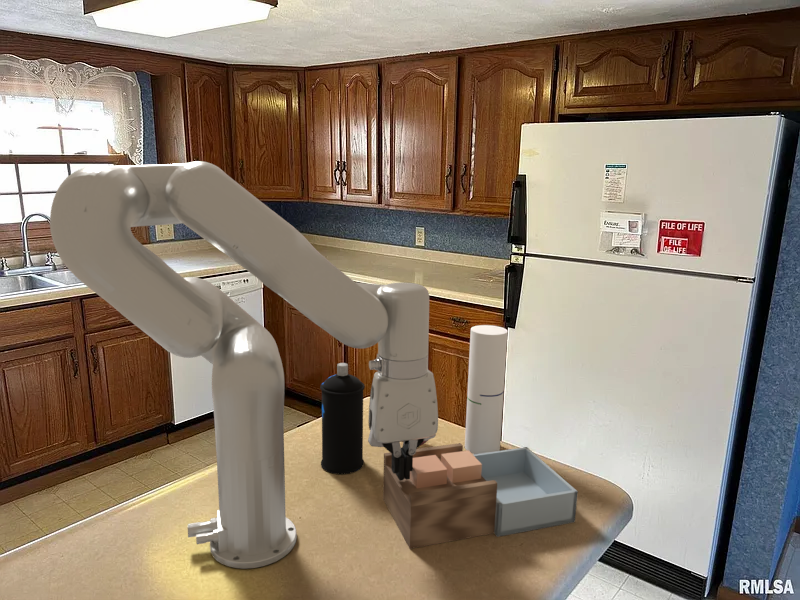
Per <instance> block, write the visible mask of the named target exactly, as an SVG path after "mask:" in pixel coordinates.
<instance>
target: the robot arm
mask: <svg viewBox="0 0 800 600" xmlns="http://www.w3.org/2000/svg"><path fill="white" fill-rule="evenodd" d="M180 224H183V225H185V226H186V227H187V228H188V229H189V230H191V231H193V232H194V233H195V234H197V235H198V236H199V237H201V238H202V239H204V240H205V241H206V242H208V243H209V244H211V245H212V246H213V247H215V248H216V249H218V250H219V251H220V252H222V253H223V254H225V255H226V256H227V257H229V259H232V260H233V262H235V263H237V265H240V266H241V267H242V268H243V269H245V270H246V271H247V272H249V273H250V274H251V275H253V276H254V277H255V278H256V279H257V280H259V281H260V282H261V283H262V284H263V285H264V286H266V287H267V288H269V289H270V290H271V291H272V292H274V293H275V294H277V295H278V296H279V297H281V298H283V300H285V301H286V302H287V303H289V304H290V305H291V306H292V307H293V308H295V309H296V310H297V311H298V312H300V313H301V314H302V315H303V316H305V317H306V318H307V319H308V320H310V321H311V322H312V323H314V324H315V325H317V326H318V327H320V328H321V329H322V330H324V331H325V332H327V333H328V334H329V335H330V336H331V337H333V338H335V339H336V340H337V341H339V342H340V343H342V344H344V345H345V346H347V347H349V348H353V349H367V348H371V347H373V346H375V345H377V349H378V351H377V353H376V358H375V359H373V360H369V361H368V368H369V371H371V370H372V371H373V370H375V371H376V372H375V373H374V374H373V378H372V383H371V388H370V397H369V404H368V429H369V435H368V439H367V441H368V443H369V445H370V447H375V448H385V449H386V450H387V451H388V453H389V452H391V453H392V461H391V467H392V472H393V473H394V474H396V475H397V477H398V479H399V480H400V481H401V480H403V479H404V478H405V479H406V480H407V479H410V471H412V469H413V455H414V454H415V453H416V449H419V448H420V446H422V445H423V444H422V443H423V441H427V440H428V441H429V440H431V439H434V438H436V436H437V433H438V428H439V410H438V399H437V389H436V382H435V377H434V373H433V372H432V371H431V370H429V335H430V334H429V333H430V331H429V329H430V321H429V320H430V293H429V290H428V289H427V287H425V286H424V285H422V284H419V283H415V282H392V283H388V284H377V283H365V282H356V281H354V280H353V279H351V278H350V277H349V276H348V275H347V274H345V273H344V272H343V271H342V270H341V269H339V268H338V267H336V266H335V265H334V264H333V263H332V262H330V260H329V259H327V258H326V257H325V256H324V255H323V254H322V253H320V252H319V251H318V250H317V248H315V247H314V246H313V245H312V244H311V242H310V241H309V240H308V239H307V238H306V237H305V236H304V235H303V234H302V233H301V232H300V231H299V230H298V229H297V228H295V227H294V226H293V225H292V224H290V222H288V221H287V220H285V219H284V218H283V217H282V216H280V215H279V214H278V213H276V212H275V211H274V210H272V209H271V208H270V207H269V206H268V205H267V204H265V203H264V202H262V201H261V200H259V198H257V197H256V196H254V194H252V193H251V192H249V191H248V190H247V189H246V188H245V187H243V186H242V185H241V184H240V183H238V182H237V181H236V180H234V179H233V178H232V177H231V176H230V175H228V174H227V173H226V172H225V171H224V170H222V169H221V168H220V167H219V166H217V165H215V164H213V163H210V162H207V161H202V160H200V161H199V160H197V161H190V162H185V163H184V162H182V163H172V164H171V163H170V164H169V163H167V164H141V165H139V164H138V165H137V164H136V165H131V164H129V165H91V166H86V167H83V168H80V169H78V170H75V171H74V172H73V173H71V174H70V175H68V176H67V177H66V178H65V179H64V180H63V181H62V183H61V184H60V185H59V187H58V189H56V192H55V194H54V197H53V201H52V204H51V208H50V218H49V227H50V234H51V235H50V236H51V239H52V243H53V245H54V248H55V250H56V252H57V254H58V256H59V258H60V260H61V261H62V263H63V264H64V265H65V266H66V268H67V269H68V270H69V271H70V272H71V273H72V274H73V275H74V276H75V277H76V278H77V279H78V280H79V281H80V282H82V284H84V285H85V286H86V287H87V288H89V289H90V290H91V291H92V292H93V293H94V294H96V295H98V296H99V297H100V298H101V299H102V300H104V301H105V302H106V303H108V304H109V305H110V306H111V307H113V308H114V309H115V310H116V311H117V312H118V313H120V314H121V315H122V316H123V317H124V318H126V319H127V320H128V321H129V322H130V323H132V324H133V325H134V326H135V327H137V328H138V329H140V330H141V331H142V332H143V333H145V334H146V335H147V336H149V338H151V339H152V340H153V341H154V342H155V343H157V344H158V345H159V346H161V347H162V348H163V349H164V350H165V351H167V352H168V353H170V354H172V355H174V356H176V357H180V358H188V359H192V358H197V357H200V356H202V357H203V358H204V359H205V360H206V361H207V362H209V363H210V364H211V365H212V370H211V395H212V398H211V399H212V407H213V417H214V419H213V420H214V436H215V438H214V439H215V451H216V466H217V467H216V469H217V473H216V474H217V490H218V491H217V492H218V508H219V509H217V510H216V516H217V517H211V518H210V520H208V521H198V522H197V521H196V522H192V523H187V537H188V538H189V539H190V538H196V539H195V540H196V545H200V544H201V545H202V544H206V543H209V549H210V553H211V555H212V557H213V558H214V560H215V561H216V562H219V563H220V564H221V565H225V566H226V567H230V568H234V569H254V568H255V569H256V568H260V567H261V568H262V567H264V566H265V567H266V566H269V565H271V564H273V563H276V562H277V561H279V560H281V559H283V558H284V557H285V556H286V555H288V554H289V553H290V552H291V551H292V550H293V548H294V547H295V545H296V543H297V538H298V537H297V529H296V525H295V524H294V523H293V521H292V520H291V519H289V518H288V517H287V516H286V513H287V512H286V483H285V482H286V480H285V479H286V477H285V474H286V473H285V469H286V468H285V437H284V436H285V433H284V432H285V431H284V429H285V428H284V427H285V426H284V424H285V423H284V414H285V413H284V410H285V407H284V406H285V372H284V367H283V363H282V362H283V361H282V358H281V356H280V352H279V348H278V345H277V343H276V340H275V338H274V337H273V335H272V334H271V333H270V331H268V329H266V327H264V326H263V325H262V324H261V323H260V322H259V321H258V320H256V319H255V317H253V316H251V314H250V313H248V312H247V311H246V310H245V309H243V308H242V307H241V306H240V305H238V303H237V302H235V301H234V300H233V299H232V298H231V297H230V296H229V295H227V294H226V293H225V292H223V290H222V289H220V288H219V287H217V286H216V285H214V284H213V283H212V282H210V281H208V280H206V279H203V278H200V277H194V276H188V277H183V276H182V275H180V274H179V273H178V272H177V271H176V270H174V269H173V268H172V267H171V266H169V265H168V264H167V263H166V262H165V261H164V260H163V259H162V258H161V257H160V256H159V255H157V254H156V253H155V252H153V251H152V250H150V249H149V248H148V247H147V246H145V245H143V244H142V243H141V242H140V241H139V240H138V239H137V238H136V237H135V236H134V234H133V232H132V230H131V228H135V227H148V226H150V227H152V226H164V225H180ZM402 441H403V442H402ZM428 441H427V442H428ZM401 443H402V447H401ZM421 444H422V445H421Z"/></svg>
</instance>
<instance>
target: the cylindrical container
mask: <svg viewBox="0 0 800 600" xmlns="http://www.w3.org/2000/svg"><path fill="white" fill-rule="evenodd" d="M469 338H470V339H469V357H468V376H467V377H468V378H467V393H466V394H467V398H466V412H465V413H466V416H465V435H464V448H465V451H468V450H469V451H470V452H471V453H472V454H481V453H488V452H495V451H501V437H502V436H501V435H502V422H503V410H504V409H503V407H504V406H503V405H504V390H505V375H506V360H507V348H508V347H507V345H508V329H506V328H505V327H502V326H498V325H493V324H492V325H490V324H481V325H479V324H478V325H475V326H474V325H473V326H472V327H471V328H470V337H469Z"/></svg>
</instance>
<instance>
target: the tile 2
mask: <svg viewBox="0 0 800 600" xmlns="http://www.w3.org/2000/svg"><path fill="white" fill-rule="evenodd" d="M441 462H442V464H443V465H444V466H445V467H446V469H447V477H448V478H449V479H450V481H451V482H452V483H456V482H462V481H469V480H475V479H481V472H482V464H481V463H480V462H479V461H478V460H477V459H476V457H475V456H474V455H473V453H471V452H470V451H469V450H468V451H467V450H463V451H460V452H453V453H446V454H441Z"/></svg>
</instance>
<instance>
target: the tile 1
mask: <svg viewBox="0 0 800 600" xmlns="http://www.w3.org/2000/svg"><path fill="white" fill-rule="evenodd" d="M410 479H411V481H412V482H413V484H414V485H415V487H416V488H423V487H430V486H436V485H443V484H447V469H446V467H445V466H444V465H443V464H442V462H441V461H440V460H439V458H438V457H437V456H436V455H431V456H423V457H416V458H413V469H412V471H410Z"/></svg>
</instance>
